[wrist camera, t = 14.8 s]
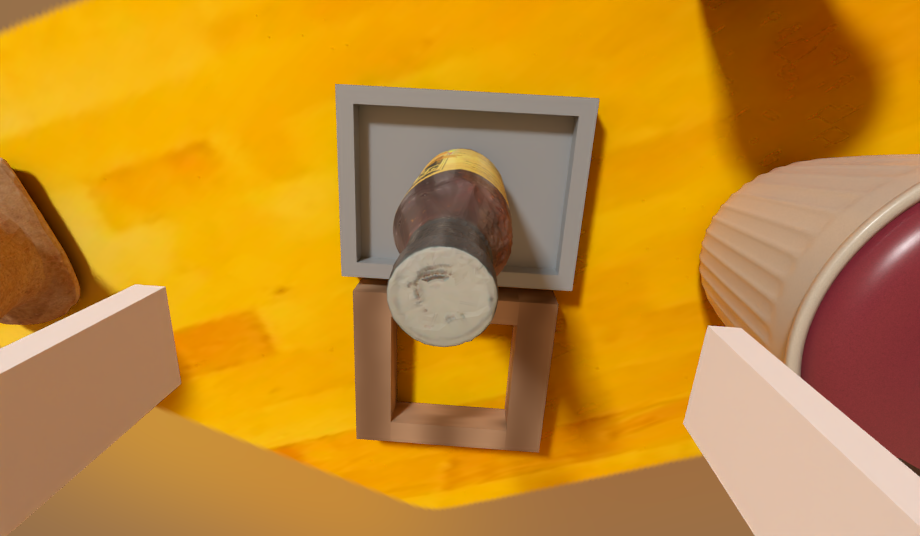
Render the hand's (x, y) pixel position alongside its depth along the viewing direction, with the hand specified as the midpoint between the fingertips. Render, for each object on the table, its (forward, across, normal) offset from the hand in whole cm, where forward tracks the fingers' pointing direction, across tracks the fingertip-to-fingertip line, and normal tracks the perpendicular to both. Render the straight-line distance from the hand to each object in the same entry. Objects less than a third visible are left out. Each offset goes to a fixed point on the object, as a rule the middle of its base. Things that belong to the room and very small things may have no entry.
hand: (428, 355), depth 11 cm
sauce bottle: (+25, +1, 0) cm, 25 cm away
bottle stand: (+26, +1, +15) cm, 30 cm away
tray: (+26, 0, 0) cm, 26 cm away
